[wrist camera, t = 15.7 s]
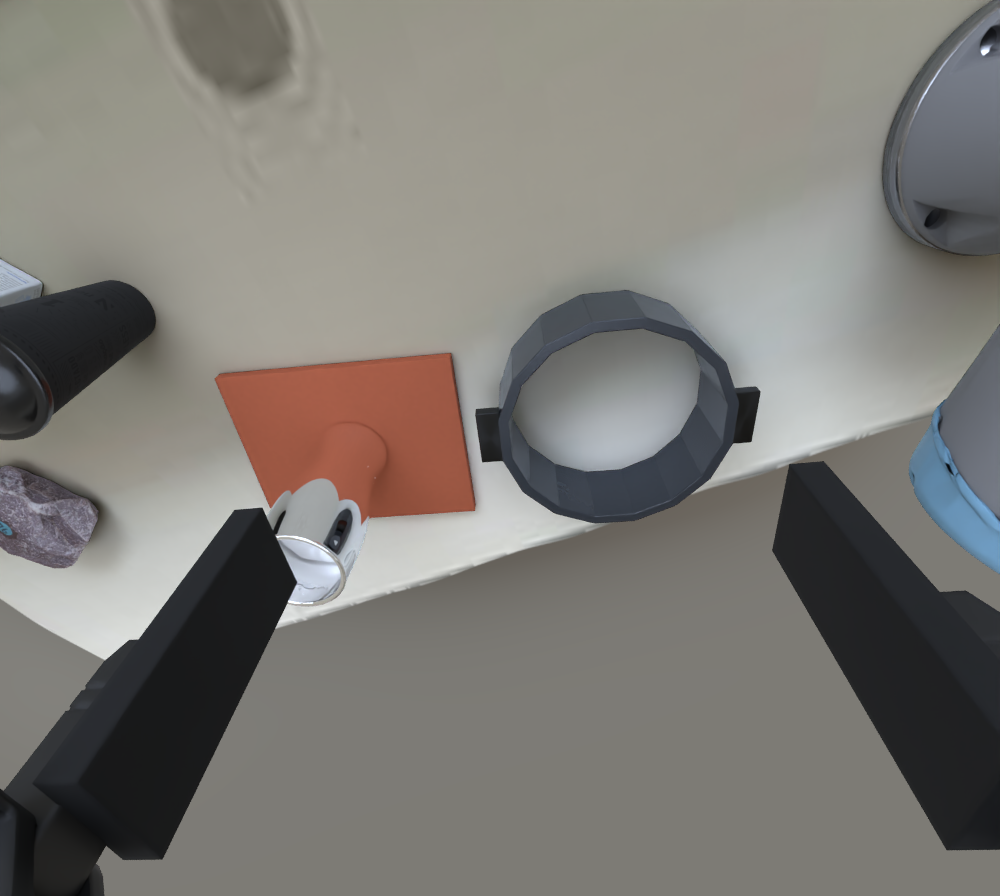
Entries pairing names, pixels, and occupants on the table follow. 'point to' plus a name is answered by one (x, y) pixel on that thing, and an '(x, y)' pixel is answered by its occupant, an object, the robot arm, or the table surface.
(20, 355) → the drinking cup
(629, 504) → the pot
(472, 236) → the table surface
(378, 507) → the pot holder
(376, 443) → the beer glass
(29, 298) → the light bulb box
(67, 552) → the rock
